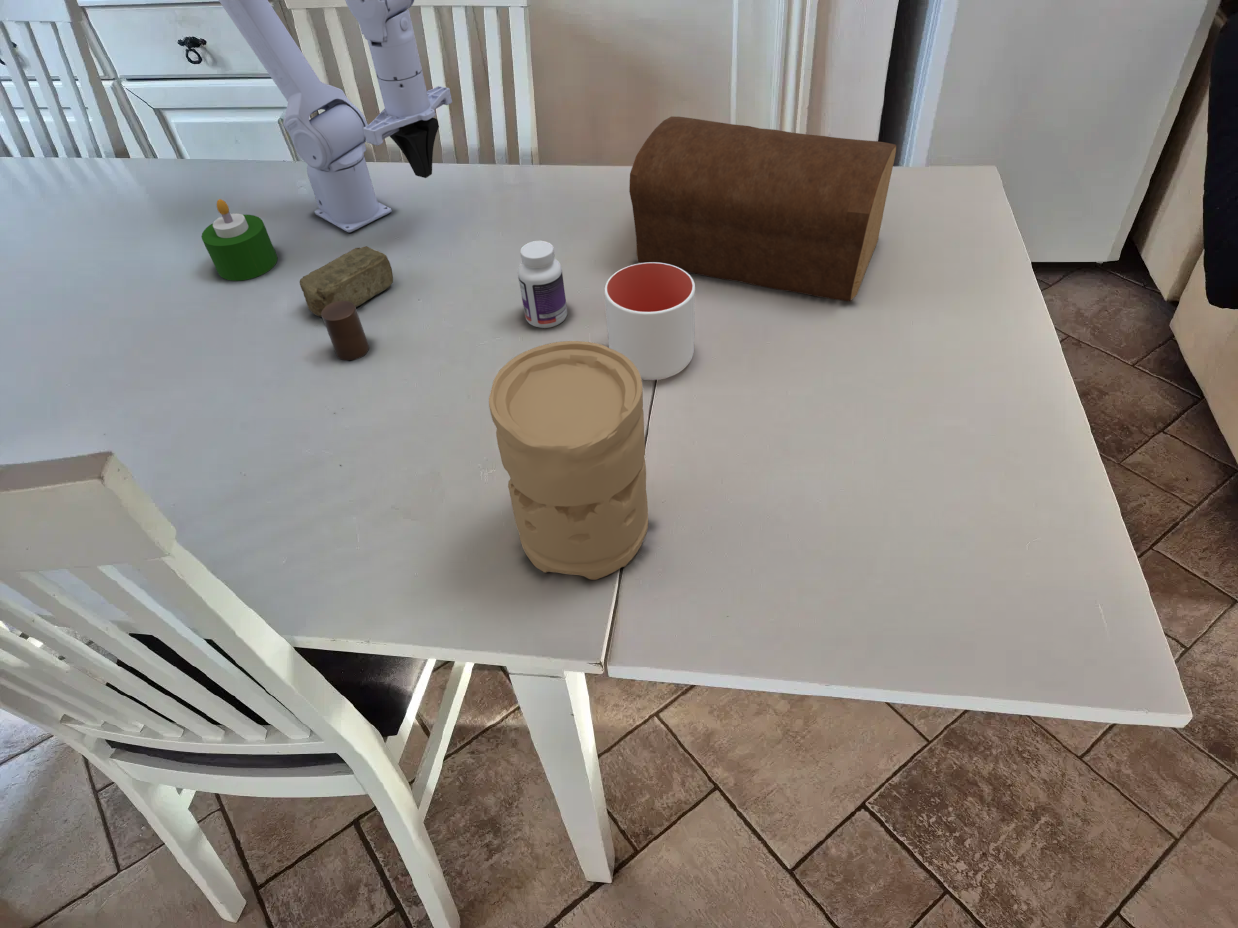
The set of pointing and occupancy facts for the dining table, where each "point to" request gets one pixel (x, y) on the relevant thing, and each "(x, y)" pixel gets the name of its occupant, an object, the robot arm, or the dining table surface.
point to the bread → (760, 204)
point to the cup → (652, 317)
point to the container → (574, 455)
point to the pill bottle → (542, 285)
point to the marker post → (345, 330)
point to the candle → (239, 245)
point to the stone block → (347, 279)
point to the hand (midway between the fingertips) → (423, 174)
